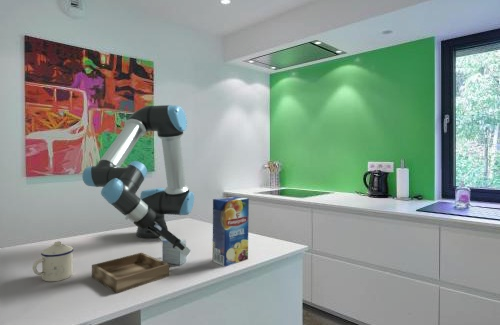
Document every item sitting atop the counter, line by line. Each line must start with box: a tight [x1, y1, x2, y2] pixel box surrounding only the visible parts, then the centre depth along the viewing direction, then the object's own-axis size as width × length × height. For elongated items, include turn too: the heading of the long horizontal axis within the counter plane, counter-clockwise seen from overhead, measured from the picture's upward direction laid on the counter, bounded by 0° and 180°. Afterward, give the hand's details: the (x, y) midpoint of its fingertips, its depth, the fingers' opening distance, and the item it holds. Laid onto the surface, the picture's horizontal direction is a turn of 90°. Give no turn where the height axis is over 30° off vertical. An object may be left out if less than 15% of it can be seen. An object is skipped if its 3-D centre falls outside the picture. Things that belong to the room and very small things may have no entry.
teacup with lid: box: [32, 240, 74, 282], centre depth 103 cm, size 12×9×12 cm
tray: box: [91, 252, 170, 294], centre depth 106 cm, size 18×18×4 cm
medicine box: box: [161, 238, 187, 266], centre depth 120 cm, size 8×4×9 cm, turn 71°
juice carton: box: [212, 196, 250, 267], centre depth 122 cm, size 12×8×24 cm, turn 134°
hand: (179, 248), depth 121 cm, fingers open, 13 cm apart
